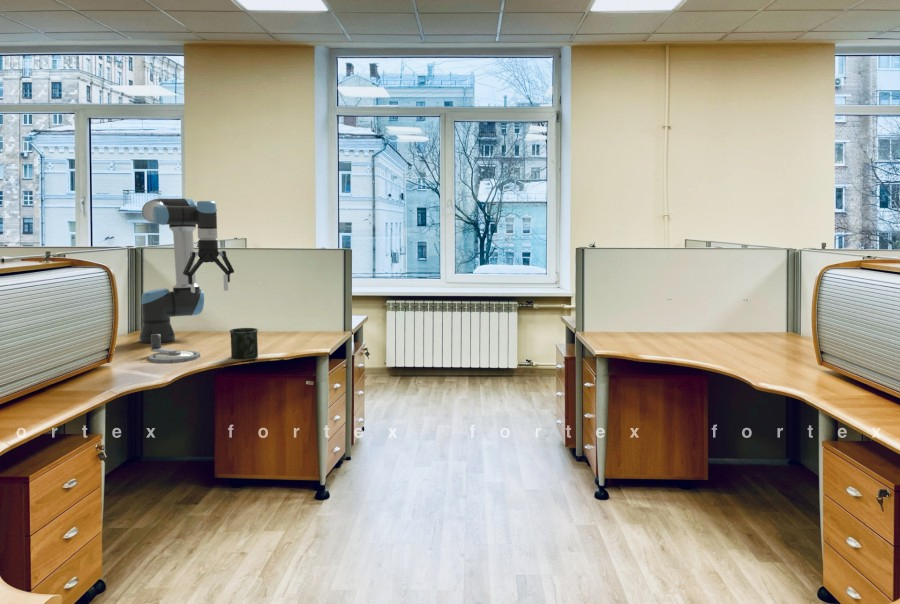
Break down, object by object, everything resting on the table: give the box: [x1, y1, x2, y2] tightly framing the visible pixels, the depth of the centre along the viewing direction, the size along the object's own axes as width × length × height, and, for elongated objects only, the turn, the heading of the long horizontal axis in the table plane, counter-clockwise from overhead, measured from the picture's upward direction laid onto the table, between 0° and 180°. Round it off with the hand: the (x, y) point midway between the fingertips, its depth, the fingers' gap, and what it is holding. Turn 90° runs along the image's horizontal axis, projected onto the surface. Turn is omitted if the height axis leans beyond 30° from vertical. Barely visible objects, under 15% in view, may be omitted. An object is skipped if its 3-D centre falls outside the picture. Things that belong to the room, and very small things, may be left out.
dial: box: [150, 334, 194, 359], centre depth 279 cm, size 20×14×8 cm
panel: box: [140, 350, 201, 364], centre depth 278 cm, size 26×26×2 cm
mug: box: [228, 327, 259, 363], centre depth 278 cm, size 11×15×12 cm
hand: (209, 291), depth 291 cm, fingers open, 13 cm apart
